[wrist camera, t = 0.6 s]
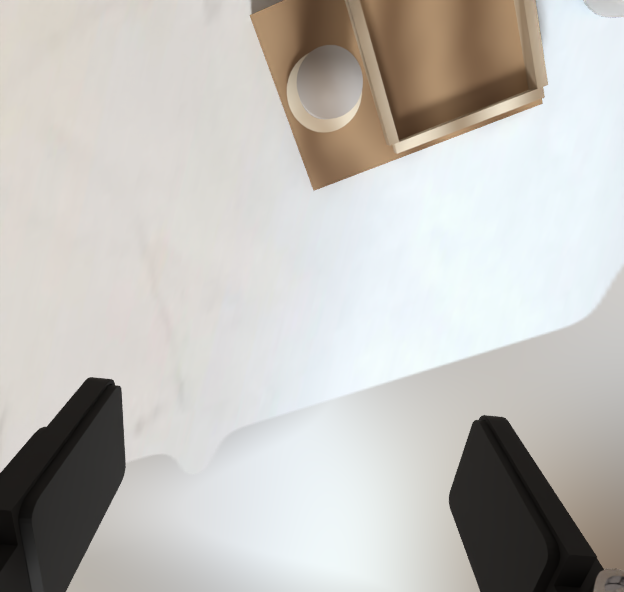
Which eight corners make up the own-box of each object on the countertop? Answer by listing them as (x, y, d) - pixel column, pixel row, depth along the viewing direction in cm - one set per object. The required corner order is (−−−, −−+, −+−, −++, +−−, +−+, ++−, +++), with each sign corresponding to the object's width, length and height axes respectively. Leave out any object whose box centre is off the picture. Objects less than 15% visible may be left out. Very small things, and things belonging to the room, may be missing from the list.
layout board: (503, -93, 32) (594, -192, 22) (535, 104, 37) (621, 97, 27) (251, 18, 34) (228, -24, 24) (313, 188, 39) (315, 211, 29)
